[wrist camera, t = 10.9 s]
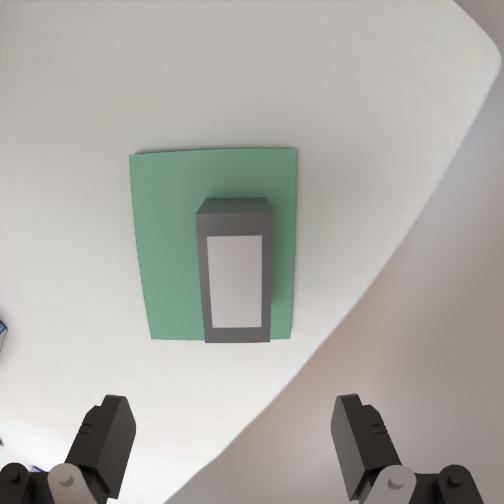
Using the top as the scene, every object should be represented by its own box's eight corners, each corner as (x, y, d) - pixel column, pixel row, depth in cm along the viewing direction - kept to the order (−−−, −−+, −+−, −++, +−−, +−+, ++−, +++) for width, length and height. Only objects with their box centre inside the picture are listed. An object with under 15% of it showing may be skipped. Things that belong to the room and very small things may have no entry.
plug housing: (205, 198, 27) (195, 214, 21) (266, 197, 27) (272, 213, 21) (211, 306, 30) (205, 343, 24) (265, 305, 30) (270, 343, 24)
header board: (134, 154, 27) (111, 157, 21) (293, 148, 27) (305, 150, 22) (154, 331, 33) (141, 362, 27) (288, 330, 33) (295, 363, 28)
